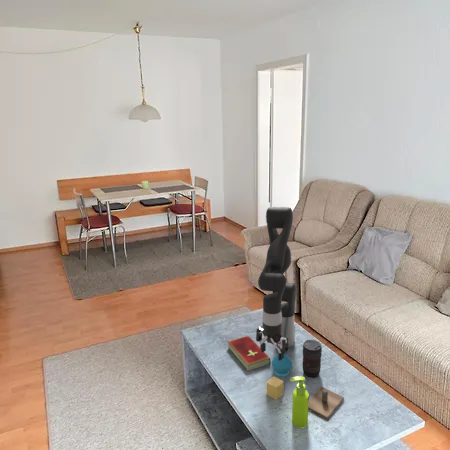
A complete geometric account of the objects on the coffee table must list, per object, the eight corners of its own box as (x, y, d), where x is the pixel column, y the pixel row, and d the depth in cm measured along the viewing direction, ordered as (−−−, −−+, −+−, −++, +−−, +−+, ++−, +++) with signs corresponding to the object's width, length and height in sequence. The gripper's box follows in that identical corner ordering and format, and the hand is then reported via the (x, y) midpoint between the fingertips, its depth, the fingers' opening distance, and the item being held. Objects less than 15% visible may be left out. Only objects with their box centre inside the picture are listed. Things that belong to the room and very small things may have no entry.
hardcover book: (248, 341, 207) (248, 334, 206) (270, 364, 189) (270, 356, 188) (227, 348, 202) (227, 340, 201) (247, 372, 184) (247, 364, 183)
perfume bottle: (279, 380, 177) (279, 351, 173) (267, 368, 185) (267, 340, 181) (296, 373, 181) (297, 344, 177) (284, 362, 189) (284, 334, 185)
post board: (321, 388, 172) (322, 377, 170) (343, 399, 165) (344, 388, 163) (304, 407, 162) (304, 395, 160) (327, 419, 155) (328, 407, 154)
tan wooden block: (273, 388, 173) (273, 376, 171) (283, 393, 170) (283, 381, 168) (266, 394, 169) (266, 382, 168) (276, 399, 166) (276, 387, 164)
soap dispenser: (287, 417, 157) (288, 373, 151) (305, 415, 158) (307, 372, 152) (291, 428, 151) (292, 384, 145) (309, 427, 152) (311, 382, 146)
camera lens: (298, 374, 181) (299, 345, 177) (308, 365, 187) (309, 337, 182) (314, 382, 176) (315, 352, 171) (323, 372, 181) (325, 343, 177)
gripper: (292, 322, 157) (291, 358, 162) (263, 310, 167) (263, 344, 171) (281, 330, 152) (280, 367, 157) (251, 317, 161) (252, 352, 166)
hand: (271, 355), depth 164 cm, fingers open, 8 cm apart
